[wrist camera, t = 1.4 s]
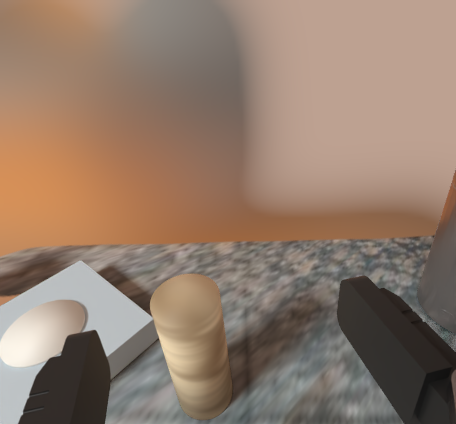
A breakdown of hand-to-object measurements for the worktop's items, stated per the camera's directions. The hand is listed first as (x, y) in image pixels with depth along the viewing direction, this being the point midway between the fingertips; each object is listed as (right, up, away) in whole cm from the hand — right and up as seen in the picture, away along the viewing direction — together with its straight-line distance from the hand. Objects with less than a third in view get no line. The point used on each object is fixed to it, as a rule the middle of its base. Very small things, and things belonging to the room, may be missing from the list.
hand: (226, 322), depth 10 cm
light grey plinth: (-19, -11, +24) cm, 32 cm away
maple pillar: (-2, -13, +19) cm, 23 cm away
